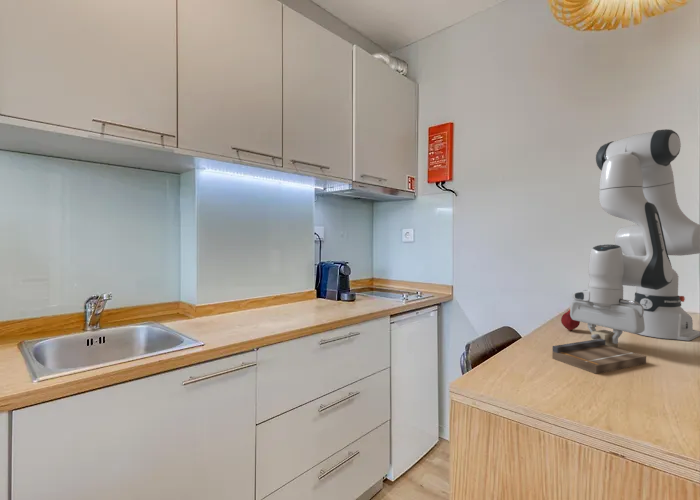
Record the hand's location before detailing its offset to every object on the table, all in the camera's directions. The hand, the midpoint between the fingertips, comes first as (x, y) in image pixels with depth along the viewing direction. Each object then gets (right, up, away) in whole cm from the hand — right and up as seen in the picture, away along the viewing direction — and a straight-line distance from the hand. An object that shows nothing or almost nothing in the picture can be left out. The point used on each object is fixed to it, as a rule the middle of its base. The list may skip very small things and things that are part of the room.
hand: (604, 340), depth 108 cm
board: (-11, -2, -13) cm, 17 cm away
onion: (+1, -2, +19) cm, 19 cm away
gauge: (0, -2, 0) cm, 2 cm away
